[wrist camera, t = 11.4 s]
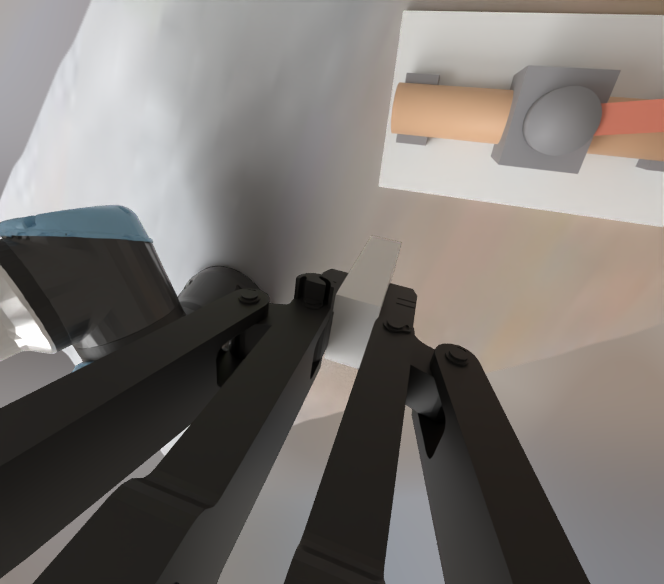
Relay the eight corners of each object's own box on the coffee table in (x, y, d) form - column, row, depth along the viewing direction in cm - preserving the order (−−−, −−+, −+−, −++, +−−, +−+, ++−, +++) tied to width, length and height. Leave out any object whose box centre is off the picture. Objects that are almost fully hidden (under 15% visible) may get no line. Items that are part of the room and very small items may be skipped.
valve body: (380, 185, 40) (365, 199, 33) (404, 13, 32) (391, -15, 25) (657, 224, 33) (709, 251, 27) (772, 20, 26) (886, -15, 19)
